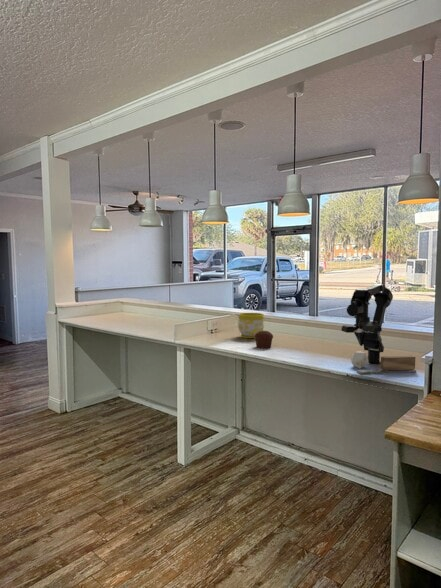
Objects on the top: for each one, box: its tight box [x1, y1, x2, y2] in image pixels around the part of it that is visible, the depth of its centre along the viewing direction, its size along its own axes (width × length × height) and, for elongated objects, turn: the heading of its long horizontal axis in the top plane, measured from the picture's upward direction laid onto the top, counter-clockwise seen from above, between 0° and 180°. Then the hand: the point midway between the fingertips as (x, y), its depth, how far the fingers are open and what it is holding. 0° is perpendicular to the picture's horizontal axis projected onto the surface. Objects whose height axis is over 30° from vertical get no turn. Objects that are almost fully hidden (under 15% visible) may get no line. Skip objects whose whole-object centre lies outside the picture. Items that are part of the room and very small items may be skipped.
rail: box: [356, 368, 417, 376], centre depth 195 cm, size 4×28×1 cm, turn 99°
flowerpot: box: [237, 312, 265, 339], centre depth 288 cm, size 18×18×16 cm
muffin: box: [254, 330, 274, 349], centre depth 254 cm, size 12×11×10 cm
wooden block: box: [379, 355, 416, 371], centre depth 196 cm, size 3×16×6 cm, turn 99°
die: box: [350, 350, 370, 370], centre depth 204 cm, size 8×9×10 cm
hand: (361, 345), depth 203 cm, fingers closed
